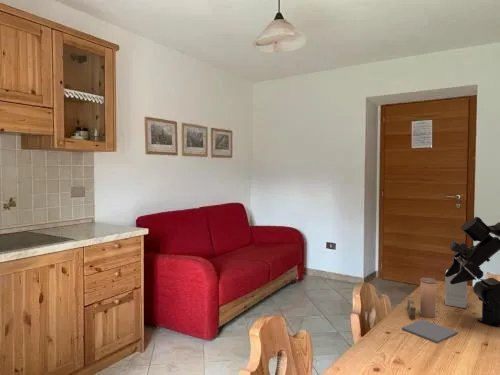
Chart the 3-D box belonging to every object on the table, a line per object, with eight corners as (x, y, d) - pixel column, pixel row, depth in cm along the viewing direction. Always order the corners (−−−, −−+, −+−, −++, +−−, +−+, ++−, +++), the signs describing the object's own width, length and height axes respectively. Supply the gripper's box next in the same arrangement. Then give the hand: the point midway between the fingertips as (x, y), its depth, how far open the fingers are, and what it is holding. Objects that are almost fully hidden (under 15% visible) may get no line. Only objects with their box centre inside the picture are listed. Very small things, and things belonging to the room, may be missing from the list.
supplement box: (467, 303, 145) (467, 271, 145) (466, 308, 139) (467, 275, 139) (446, 299, 149) (446, 268, 149) (444, 305, 143) (445, 273, 142)
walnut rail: (407, 307, 141) (407, 296, 140) (412, 307, 140) (412, 297, 140) (410, 318, 129) (410, 307, 129) (415, 319, 129) (415, 308, 129)
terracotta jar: (424, 311, 136) (425, 276, 136) (438, 315, 132) (439, 280, 132) (416, 314, 134) (417, 279, 133) (430, 318, 129) (431, 282, 129)
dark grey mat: (422, 321, 127) (422, 319, 127) (457, 333, 117) (457, 331, 117) (401, 329, 121) (401, 327, 121) (437, 343, 111) (437, 341, 111)
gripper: (459, 229, 137) (426, 257, 141) (472, 238, 119) (434, 269, 123) (483, 251, 134) (449, 279, 138) (500, 263, 117) (461, 294, 121)
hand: (448, 279), depth 130 cm, fingers open, 9 cm apart
